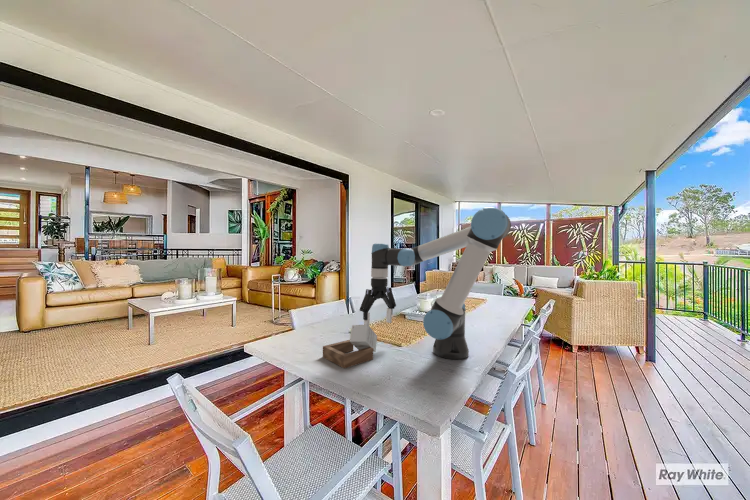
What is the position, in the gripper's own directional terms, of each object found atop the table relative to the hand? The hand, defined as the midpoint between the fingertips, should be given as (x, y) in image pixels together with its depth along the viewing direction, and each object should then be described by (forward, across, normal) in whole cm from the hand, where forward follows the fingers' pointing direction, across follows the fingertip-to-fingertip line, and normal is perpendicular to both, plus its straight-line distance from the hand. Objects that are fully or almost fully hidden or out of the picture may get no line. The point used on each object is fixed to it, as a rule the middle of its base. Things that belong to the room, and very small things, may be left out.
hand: (378, 324), depth 131 cm
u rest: (+11, +16, 0) cm, 20 cm away
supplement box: (+8, +5, 0) cm, 9 cm away
